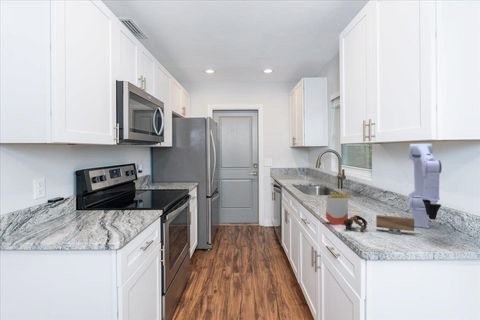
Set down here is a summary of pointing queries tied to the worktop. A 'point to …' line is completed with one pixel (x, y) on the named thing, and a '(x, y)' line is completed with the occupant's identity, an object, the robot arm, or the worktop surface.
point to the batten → (395, 222)
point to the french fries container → (337, 208)
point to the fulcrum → (394, 231)
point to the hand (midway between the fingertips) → (430, 217)
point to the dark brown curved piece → (349, 222)
